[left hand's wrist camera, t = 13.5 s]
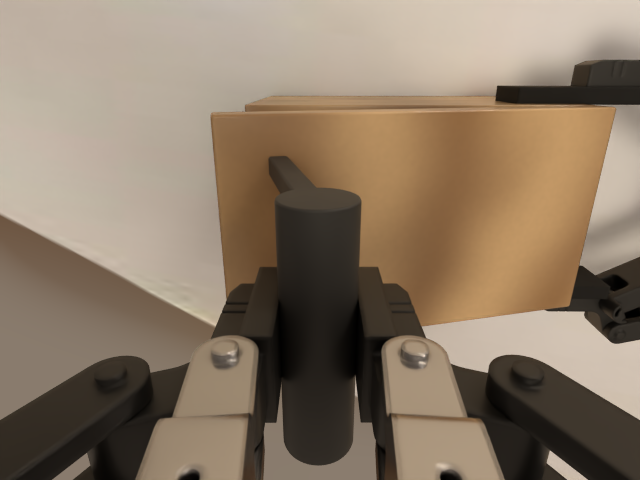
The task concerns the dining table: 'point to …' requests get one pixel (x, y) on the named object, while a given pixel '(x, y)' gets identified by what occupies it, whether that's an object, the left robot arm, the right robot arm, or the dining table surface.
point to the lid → (399, 227)
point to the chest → (380, 103)
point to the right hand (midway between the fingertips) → (491, 195)
